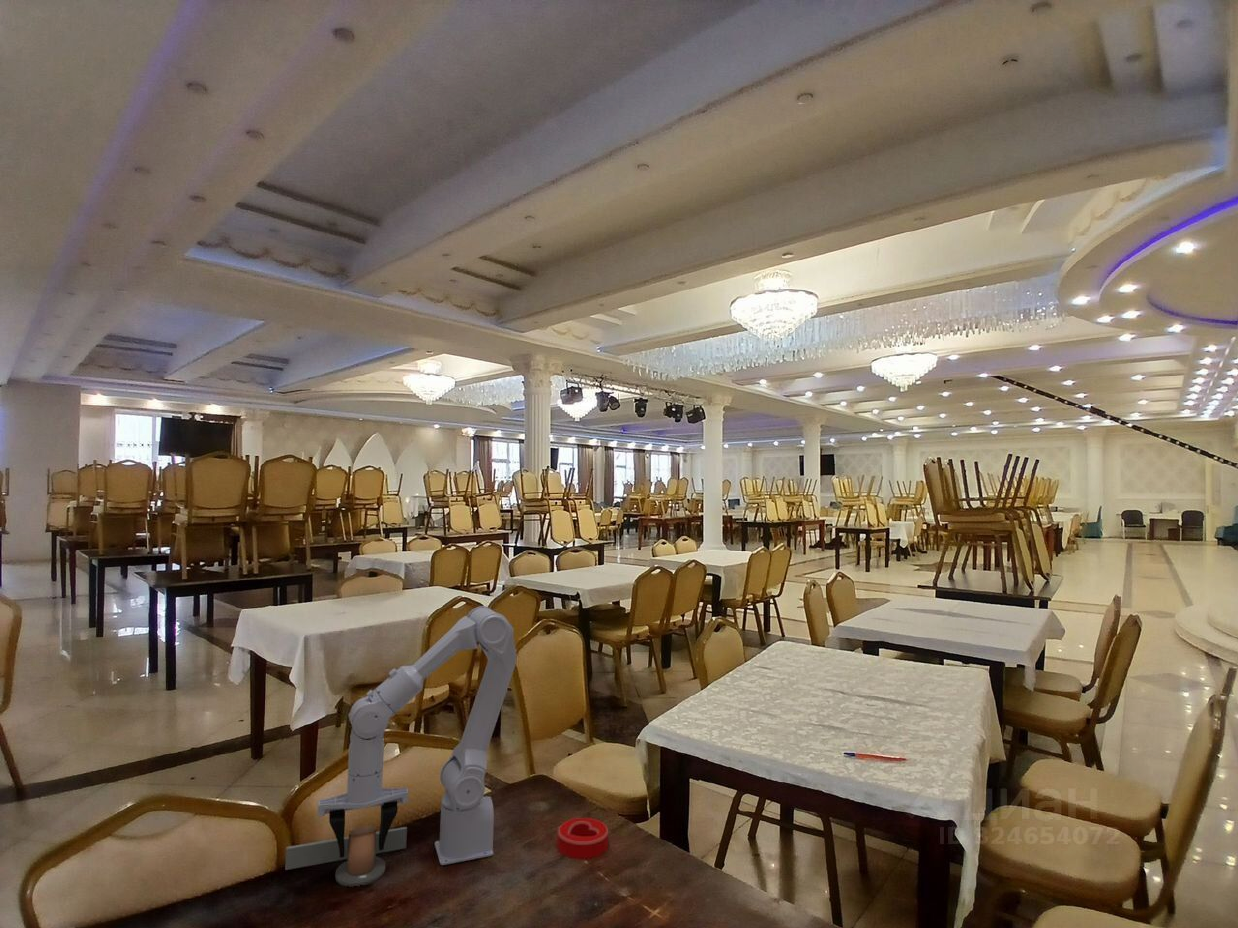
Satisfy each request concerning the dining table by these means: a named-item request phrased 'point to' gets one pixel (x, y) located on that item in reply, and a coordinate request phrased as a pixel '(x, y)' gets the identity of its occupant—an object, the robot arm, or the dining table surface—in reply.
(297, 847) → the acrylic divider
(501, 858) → the dining table surface
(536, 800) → the dining table surface
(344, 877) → the slate coaster
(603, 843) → the decorative ornament
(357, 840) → the terracotta cylinder
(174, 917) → the dining table surface
